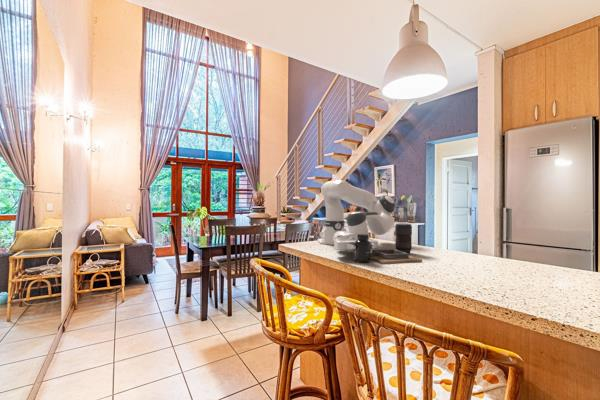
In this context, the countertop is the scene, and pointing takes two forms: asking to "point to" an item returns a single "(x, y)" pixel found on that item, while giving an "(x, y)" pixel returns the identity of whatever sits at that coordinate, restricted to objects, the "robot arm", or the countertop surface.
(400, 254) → the collar dock
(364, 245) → the supplement bottle
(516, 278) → the countertop surface
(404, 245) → the camera lens
